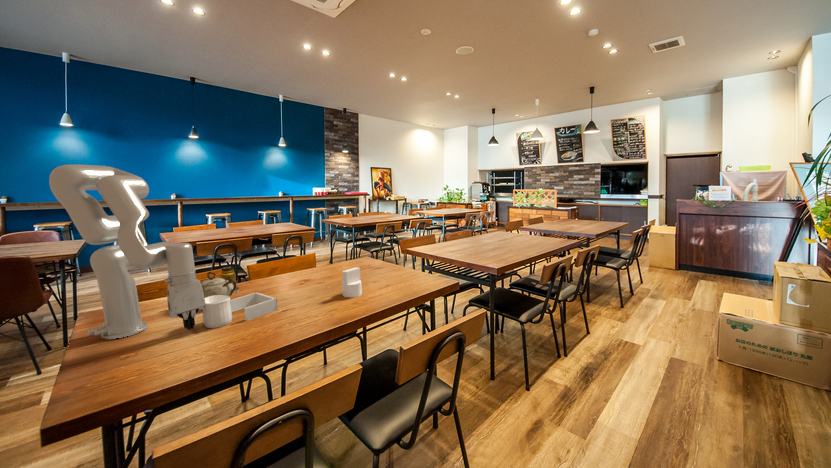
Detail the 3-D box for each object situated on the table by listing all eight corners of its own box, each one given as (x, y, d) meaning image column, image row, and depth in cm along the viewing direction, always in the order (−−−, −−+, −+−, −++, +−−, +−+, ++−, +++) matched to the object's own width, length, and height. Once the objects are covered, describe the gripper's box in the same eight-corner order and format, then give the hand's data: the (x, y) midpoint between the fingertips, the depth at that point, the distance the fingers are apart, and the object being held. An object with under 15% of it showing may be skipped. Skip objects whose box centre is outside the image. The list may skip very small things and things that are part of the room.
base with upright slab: (351, 298, 147) (350, 273, 145) (338, 294, 153) (337, 270, 151) (365, 293, 154) (364, 268, 153) (352, 289, 160) (351, 266, 158)
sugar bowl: (181, 311, 135) (176, 276, 133) (203, 298, 150) (200, 267, 148) (228, 310, 135) (224, 276, 133) (246, 298, 150) (243, 266, 148)
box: (246, 321, 125) (245, 308, 124) (227, 312, 133) (226, 301, 132) (277, 309, 135) (276, 298, 134) (257, 303, 144) (256, 292, 143)
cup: (219, 329, 118) (216, 304, 116) (196, 327, 120) (193, 302, 118) (238, 319, 127) (236, 295, 125) (216, 317, 129) (214, 293, 127)
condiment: (221, 294, 156) (218, 270, 155) (222, 289, 164) (219, 266, 162) (238, 291, 160) (236, 268, 158) (238, 286, 167) (236, 264, 165)
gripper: (161, 286, 104) (168, 339, 107) (211, 275, 116) (217, 323, 119) (152, 282, 108) (160, 333, 111) (202, 272, 120) (208, 318, 123)
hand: (189, 328), depth 115 cm, fingers closed
